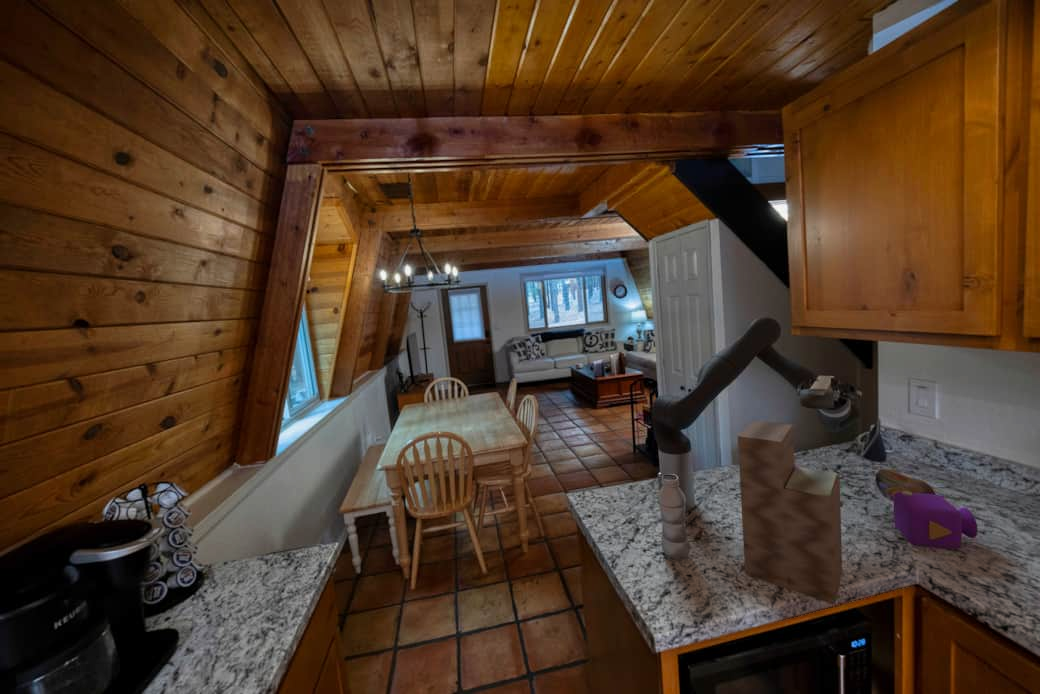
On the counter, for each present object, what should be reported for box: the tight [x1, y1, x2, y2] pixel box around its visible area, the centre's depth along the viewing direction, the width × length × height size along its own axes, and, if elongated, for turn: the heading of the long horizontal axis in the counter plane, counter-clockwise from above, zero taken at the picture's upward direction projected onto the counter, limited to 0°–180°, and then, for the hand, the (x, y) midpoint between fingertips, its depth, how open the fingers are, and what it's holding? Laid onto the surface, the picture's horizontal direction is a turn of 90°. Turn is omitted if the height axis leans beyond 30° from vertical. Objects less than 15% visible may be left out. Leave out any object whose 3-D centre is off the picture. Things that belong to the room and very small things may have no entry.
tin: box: [875, 468, 937, 502], centre depth 110 cm, size 15×3×8 cm, turn 1°
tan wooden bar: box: [799, 375, 835, 410], centre depth 95 cm, size 6×20×3 cm, turn 137°
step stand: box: [737, 419, 843, 606], centre depth 88 cm, size 16×12×32 cm
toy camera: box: [893, 491, 979, 550], centre depth 95 cm, size 11×14×10 cm
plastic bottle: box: [657, 474, 691, 561], centre depth 99 cm, size 6×7×20 cm
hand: (823, 381), depth 98 cm, fingers closed on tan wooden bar, 3 cm apart
